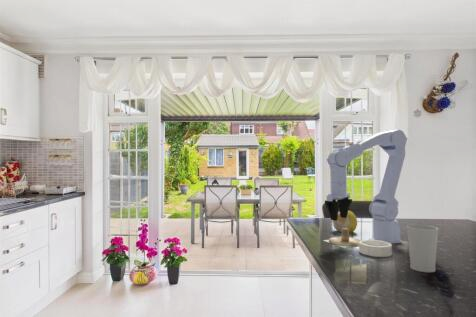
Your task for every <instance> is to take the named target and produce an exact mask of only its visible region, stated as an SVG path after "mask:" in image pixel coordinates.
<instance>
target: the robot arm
mask: <svg viewBox="0 0 476 317" xmlns="http://www.w3.org/2000/svg"><path fill="white" fill-rule="evenodd" d="M407 141H408V137H407V135H406V134H405V132H404V131H403V130H401V129H394V130H388V131H387V130H386V131H381V132H378V133H375V134H373V135H372V136H370V137H368V138H367V139H364V140H363V141H361V142H355V141H354V142H353V141H350V142H349V143H348V145H346V146H344V147H339V148H338V150H335V151H331V152H330V153H329V155H328V157H327V158H326V162H327V164H328V165H329V169H330V170H329V171H330V193H328V194H327V195H326V200H324V204H325V206H326V207H327V211H328V214H329V218H330V220H331V221H333V220H335V221H336V220H337V218H338V212H340V216H341V217H342V218H347V214H348V211H350V210H349V209H350V206H351V205H352V203H353V199H352V198H351V194H350V193H349V192H348V191H347V190H348V188H347V166H348V165H349V164H350V162H351V161H353V160H356V159H357V158H359V157H361V156H362V155H363V154H364V152H365V151H366V150H369V149H371V148H372V147H376V146H379V148H381V149H382V150H383V151H384V152H385V153H387V155H388V160H387V163H386V168H385V170H384V173H383V174H384V175H383V178H382V182H381V186H380V189H379V193H377V194H376V195H375V196H374V197H373V200H372V201H371V203H370V204H369V207H368V211H369V214H370V215H371V218H373V219H372V220H373V221H372V222H373V223H372V226H373V230H372V232H373V233H372V236H373V238H368V239H367V240H379V241H384V242H388V243H391V244H398V243H399V244H400V243H402V242H403V241H402V240H401V225H400V222H399V221H398V220H397V217H398V215H399V208H398V206H399V201H398V200H397V199H396V197H395V195H396V191H397V188H398V184H399V181H400V177H401V172H402V168H403V165H404V162H405V161H404V160H405V158H406V145H407ZM347 192H348V193H347Z"/></svg>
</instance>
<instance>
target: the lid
mask: <svg viewBox="0 0 476 317" xmlns="http://www.w3.org/2000/svg"><path fill="white" fill-rule="evenodd" d="M340 233H341V234H340V235H341V236H334V237H330V238H328V240H329V242H330V243H329V244H331V243H332V244H331V245H334V244H335V245H334V246H337V245H339V246H355V247H359V241H360V240H361V239H358V238H354V237H350V233H349V229H347V228H342V229H341V232H340ZM339 246H338V247H339Z"/></svg>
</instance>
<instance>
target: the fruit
mask: <svg viewBox="0 0 476 317" xmlns="http://www.w3.org/2000/svg"><path fill="white" fill-rule="evenodd" d="M332 225H333V226H332V227H333V228H334V229H335V230H336V231H338V232H339V233H341V229H342V228H347V229H349V234H352V233H353V232H354V231H355V230H356V229H357V227H358V219H357V216H356V215H355V213H354V212H353V211H352V210H348V214H347V218H342V217H341V216H340V211H338V218H337V220H336V221H335V220H332Z"/></svg>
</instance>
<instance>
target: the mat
mask: <svg viewBox="0 0 476 317" xmlns="http://www.w3.org/2000/svg"><path fill="white" fill-rule="evenodd" d="M322 241H323V242H326V243H329V244H331V245H334V246H337V247H339V248H343V249H344V248H345V249H346V248H352V247H353V248H355V247H356V246H339V245H335V244H332V243H330V242H329V239H324V240H322Z"/></svg>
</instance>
